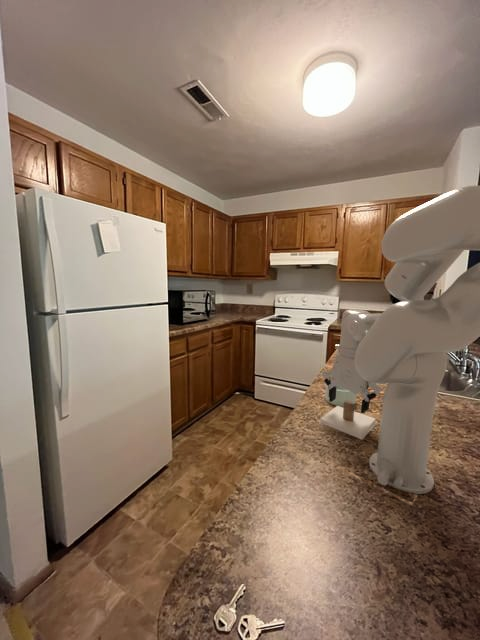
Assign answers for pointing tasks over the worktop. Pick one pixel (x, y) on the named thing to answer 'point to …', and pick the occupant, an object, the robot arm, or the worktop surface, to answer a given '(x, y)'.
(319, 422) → the mat
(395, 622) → the worktop surface
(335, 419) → the cover
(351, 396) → the bowl
